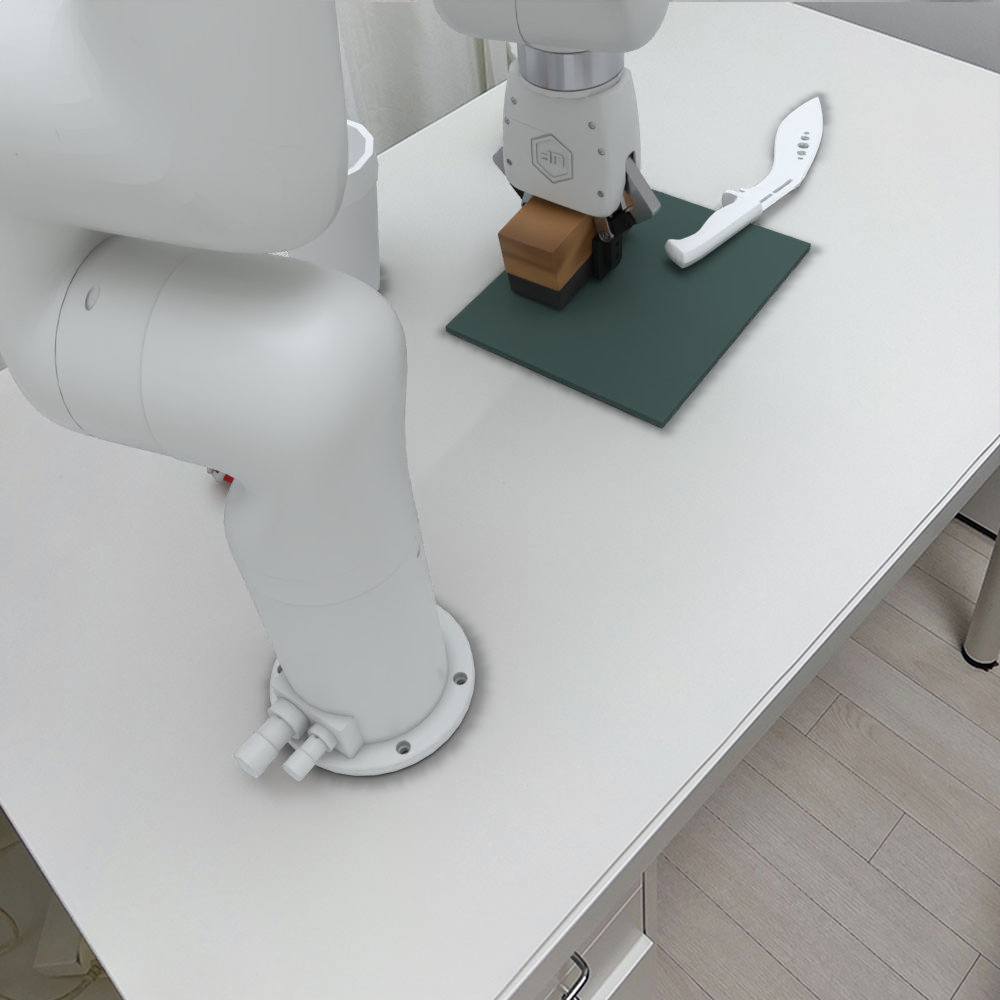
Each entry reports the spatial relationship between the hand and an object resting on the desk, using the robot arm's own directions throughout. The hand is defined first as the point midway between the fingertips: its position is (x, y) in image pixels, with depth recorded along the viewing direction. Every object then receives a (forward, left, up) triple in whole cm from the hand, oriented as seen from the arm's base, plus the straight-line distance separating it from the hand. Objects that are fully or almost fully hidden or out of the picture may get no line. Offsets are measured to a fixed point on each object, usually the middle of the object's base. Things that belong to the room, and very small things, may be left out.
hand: (575, 256), depth 91 cm
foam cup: (-12, +16, -1) cm, 20 cm away
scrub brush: (0, 0, 0) cm, 0 cm away
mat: (0, -5, -1) cm, 6 cm away
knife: (+18, -7, -1) cm, 20 cm away
